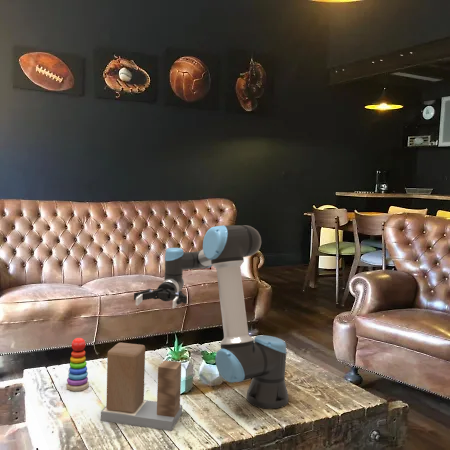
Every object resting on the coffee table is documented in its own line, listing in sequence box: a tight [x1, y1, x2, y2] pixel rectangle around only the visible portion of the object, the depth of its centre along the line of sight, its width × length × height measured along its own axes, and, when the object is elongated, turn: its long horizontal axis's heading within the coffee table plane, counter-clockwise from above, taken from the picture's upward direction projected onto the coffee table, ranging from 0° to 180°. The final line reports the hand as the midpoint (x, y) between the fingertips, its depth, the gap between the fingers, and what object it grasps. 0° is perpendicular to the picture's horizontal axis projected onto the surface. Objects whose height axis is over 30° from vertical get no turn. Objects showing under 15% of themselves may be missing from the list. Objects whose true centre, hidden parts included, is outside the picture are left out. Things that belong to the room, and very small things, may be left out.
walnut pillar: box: [156, 360, 182, 417], centre depth 164 cm, size 6×6×16 cm
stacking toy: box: [66, 337, 90, 392], centre depth 186 cm, size 8×8×19 cm
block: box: [105, 342, 146, 413], centre depth 166 cm, size 10×10×20 cm
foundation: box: [100, 399, 183, 432], centre depth 166 cm, size 24×12×3 cm, turn 79°
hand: (155, 303), depth 181 cm, fingers open, 13 cm apart
